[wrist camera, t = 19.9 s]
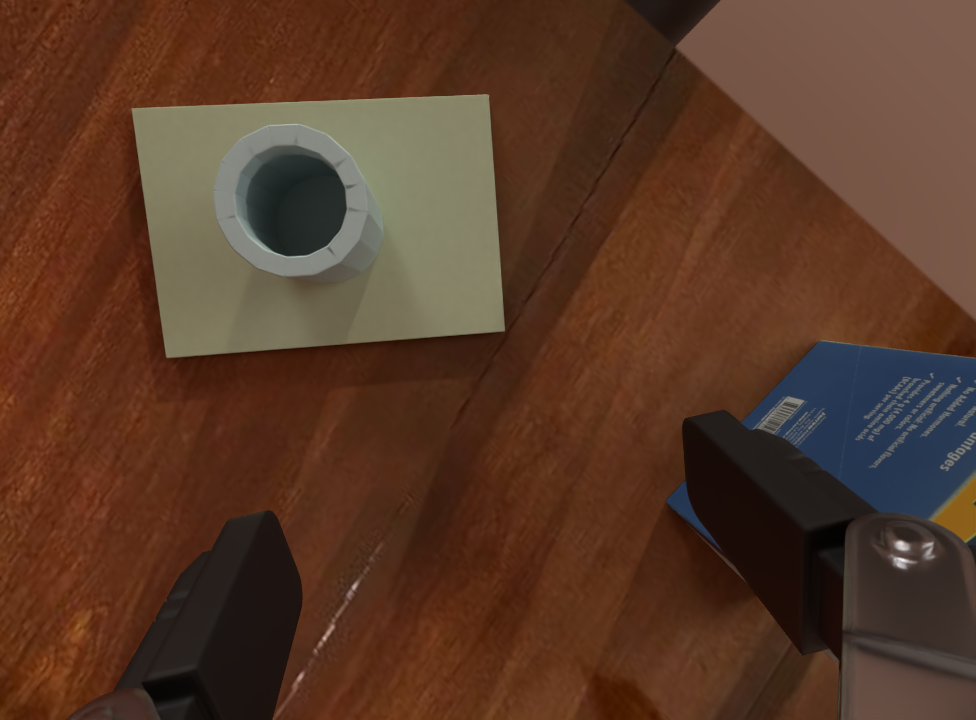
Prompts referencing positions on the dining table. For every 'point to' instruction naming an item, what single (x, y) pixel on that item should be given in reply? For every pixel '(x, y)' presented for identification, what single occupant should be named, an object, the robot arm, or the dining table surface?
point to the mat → (398, 192)
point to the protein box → (878, 431)
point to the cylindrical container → (297, 205)
